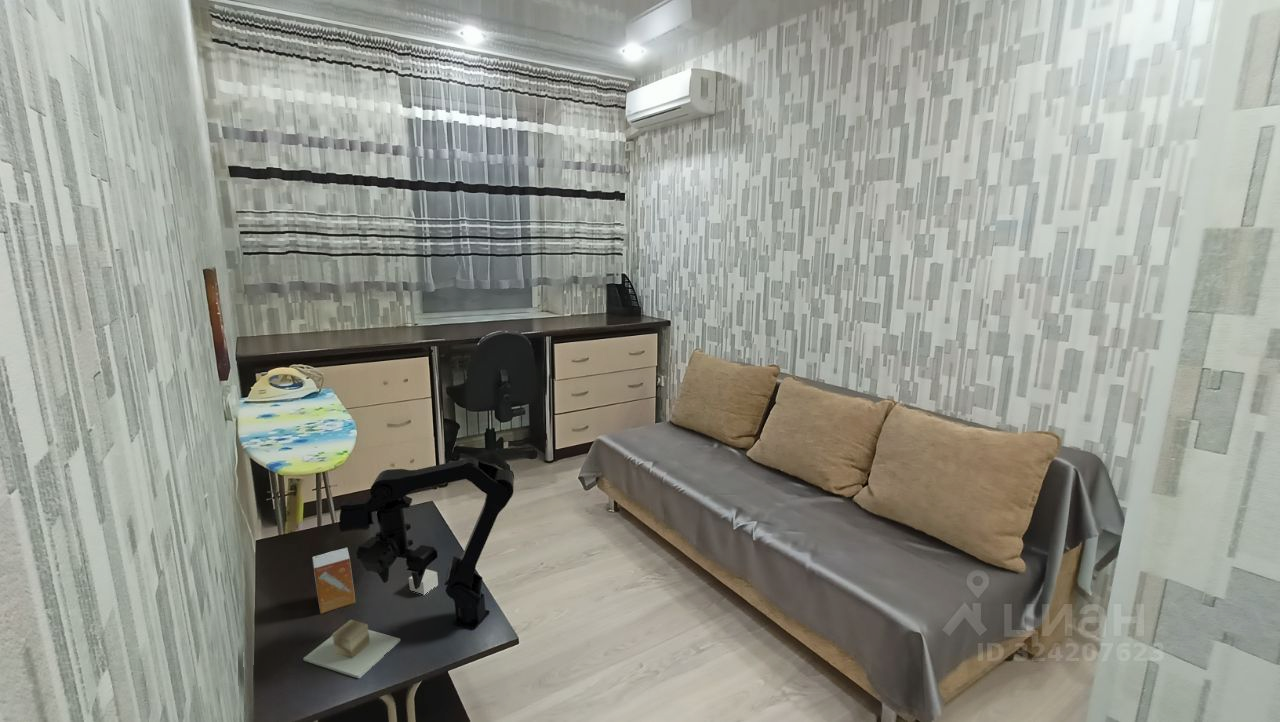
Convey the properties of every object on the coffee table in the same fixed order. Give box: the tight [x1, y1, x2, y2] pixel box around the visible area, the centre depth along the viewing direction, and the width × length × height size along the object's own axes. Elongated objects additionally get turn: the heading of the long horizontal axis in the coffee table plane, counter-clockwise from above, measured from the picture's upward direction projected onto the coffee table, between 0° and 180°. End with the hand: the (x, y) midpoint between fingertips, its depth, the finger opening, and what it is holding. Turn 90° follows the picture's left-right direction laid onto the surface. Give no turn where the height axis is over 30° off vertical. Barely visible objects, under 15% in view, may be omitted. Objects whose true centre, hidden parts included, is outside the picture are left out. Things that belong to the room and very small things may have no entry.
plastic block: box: [408, 568, 439, 596], centre depth 148 cm, size 5×5×4 cm
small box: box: [311, 547, 356, 614], centre depth 142 cm, size 8×6×13 cm
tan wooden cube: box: [332, 619, 370, 658], centre depth 126 cm, size 5×5×5 cm
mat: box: [303, 629, 401, 679], centre depth 126 cm, size 16×12×1 cm
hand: (401, 584), depth 131 cm, fingers open, 9 cm apart
